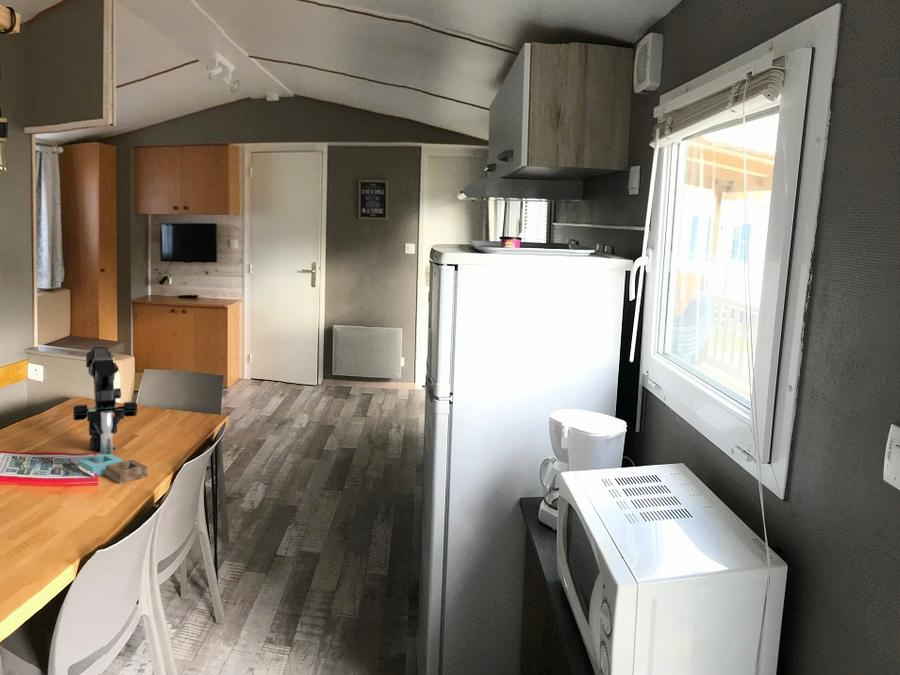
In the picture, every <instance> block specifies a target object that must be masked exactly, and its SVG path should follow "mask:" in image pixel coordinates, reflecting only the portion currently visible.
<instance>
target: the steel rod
mask: <svg viewBox="0 0 900 675" xmlns="http://www.w3.org/2000/svg"><path fill="white" fill-rule="evenodd" d="M100 413H101V452H100V454H103V455H108V454H112V455H113V453H114V450H113V447H114V434H113V417H114V413H113V411H109V410H107V411H101V412H100Z"/></svg>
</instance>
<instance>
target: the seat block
mask: <svg viewBox="0 0 900 675" xmlns="http://www.w3.org/2000/svg"><path fill="white" fill-rule="evenodd" d="M94 462H97V464H96V463H94ZM120 462H124V460H123V459H121V457H118V456H116V455H114V454H113V453H112V454H108V455H103V454H101V453H98V454H95V455H90V456H85V457H80V458H77V466H78V465H79V466H81V467H82V468H84V469H86V470H87V471H90V472H91V473H97V474H98V476H97V477H100V476H103V475H105V476H106V466H107V465H111V464H116V463H120Z"/></svg>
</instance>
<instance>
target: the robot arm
mask: <svg viewBox="0 0 900 675" xmlns="http://www.w3.org/2000/svg"><path fill="white" fill-rule="evenodd" d="M85 367H86V368H87V370H88V374H89V375H90V376H91V377H92V378H93V393H94V394H93V395H94V396H93V397H94V406H91V407H88V404H74V406H73V409H72V410H73V414H72V415H73V420H74V421H84V420H87V422H88V436H90V438H89V447H88V448H89V450H91V451H93V452H95V453H97V454H101V413H100V412H101V411H107V410H109V411H113V435H114V434H116V433H117V432H118V425H119V422H120V421H121V420H123V419H125V418H126V417H135V416H137V413H138V403H137V402H136V401H125V402H123V406H116V404H117V401H116V399H117V400H118V399H121V398H122V390H121V387H120V388H119V387H118V388H115V385H114V381H115V376H116V374H117V373H118V372H119V366H118V365H117V364H116V362H114V359H113V358H112V352H110V351H109V350H108V347H107V346H102V345H101V346H92V347H91V350H90V351H88V352H87V353H86V356H85ZM124 417H125V418H124ZM114 450H116V447H115V446H113V451H114Z"/></svg>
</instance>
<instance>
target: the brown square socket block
mask: <svg viewBox="0 0 900 675" xmlns="http://www.w3.org/2000/svg"><path fill="white" fill-rule="evenodd" d="M105 477H107V478H109V479H110V480H113V481H114V482H116V483H118V484H124V483H129V482H132V481H136V480H140V479H143V478H147V477H148V466H147V465H145V464H143V463H140V462H138V461H137V460H135V459H133V458H132V459H129V460H123V462H120V463H116V464H111V465H107V466H106V474H105Z"/></svg>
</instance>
